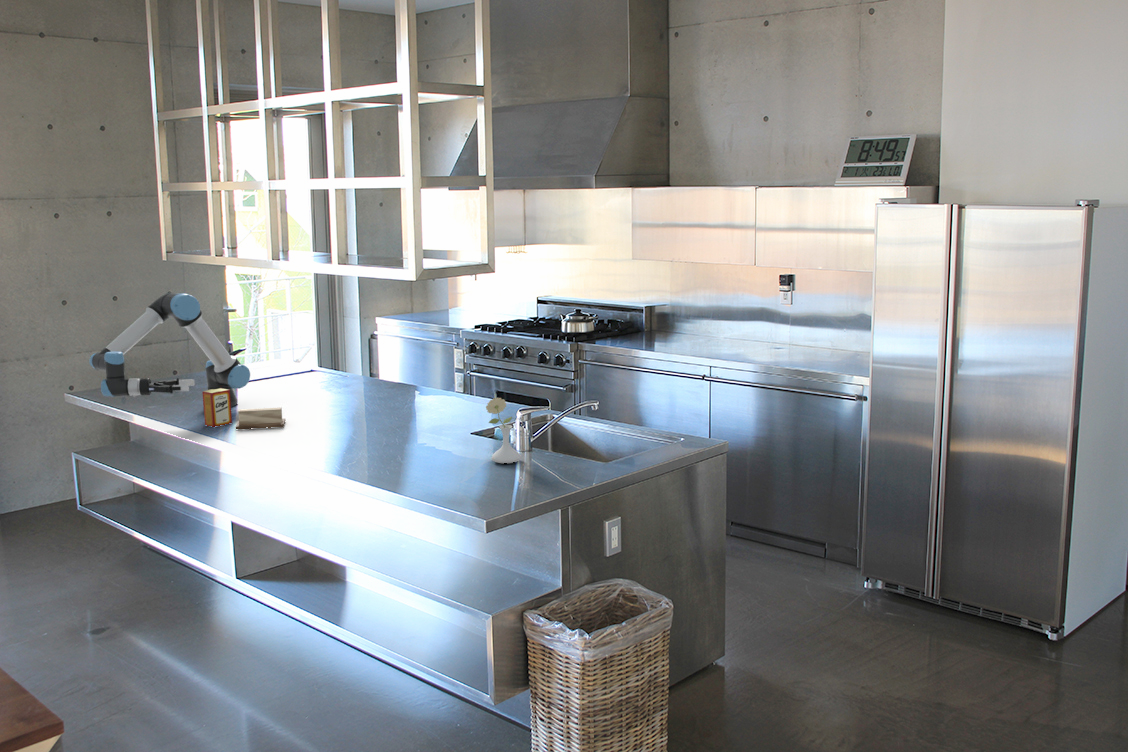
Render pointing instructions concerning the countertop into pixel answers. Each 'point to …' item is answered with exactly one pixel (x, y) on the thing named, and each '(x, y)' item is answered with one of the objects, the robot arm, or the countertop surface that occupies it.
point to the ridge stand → (260, 418)
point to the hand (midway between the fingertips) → (191, 385)
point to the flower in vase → (506, 451)
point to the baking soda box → (217, 407)
